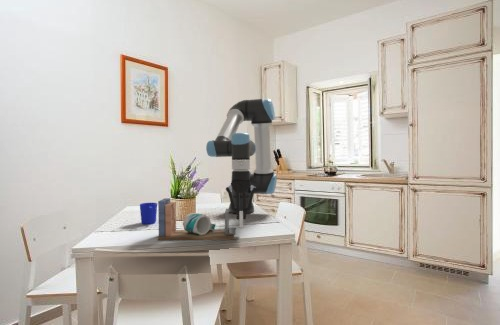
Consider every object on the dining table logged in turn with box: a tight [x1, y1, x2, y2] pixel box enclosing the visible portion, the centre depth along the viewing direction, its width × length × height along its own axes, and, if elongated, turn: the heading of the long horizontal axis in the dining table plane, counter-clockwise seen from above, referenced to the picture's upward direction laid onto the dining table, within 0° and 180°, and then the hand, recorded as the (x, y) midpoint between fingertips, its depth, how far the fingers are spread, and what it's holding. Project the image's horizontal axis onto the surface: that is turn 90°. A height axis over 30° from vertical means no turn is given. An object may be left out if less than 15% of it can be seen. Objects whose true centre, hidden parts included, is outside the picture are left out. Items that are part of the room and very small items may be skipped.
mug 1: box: [139, 202, 158, 225], centre depth 143 cm, size 8×12×10 cm
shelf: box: [157, 197, 235, 241], centre depth 120 cm, size 12×30×15 cm, turn 91°
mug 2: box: [182, 212, 216, 235], centre depth 121 cm, size 8×12×8 cm
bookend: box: [224, 208, 237, 236], centre depth 120 cm, size 9×4×9 cm, turn 1°
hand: (241, 227), depth 120 cm, fingers closed
